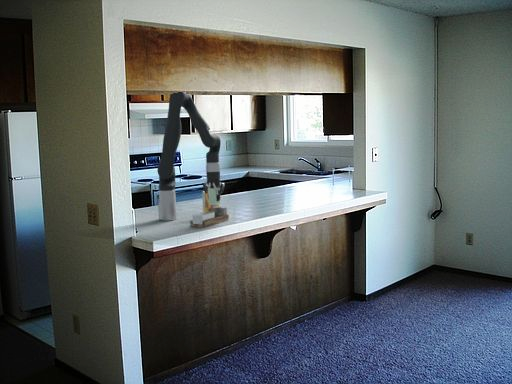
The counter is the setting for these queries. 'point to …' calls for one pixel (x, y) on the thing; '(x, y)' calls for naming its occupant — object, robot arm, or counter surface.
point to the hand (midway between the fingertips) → (214, 200)
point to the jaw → (203, 217)
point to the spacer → (212, 196)
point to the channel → (219, 217)
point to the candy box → (207, 203)
